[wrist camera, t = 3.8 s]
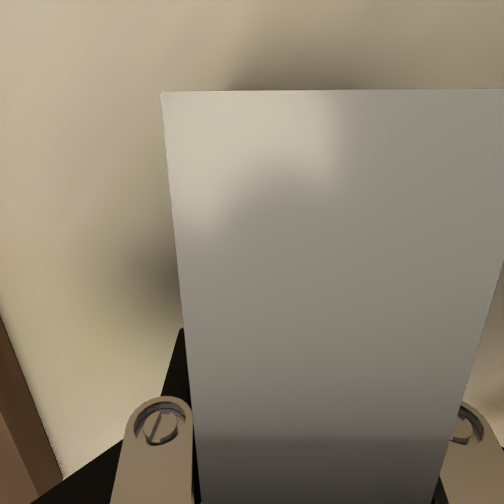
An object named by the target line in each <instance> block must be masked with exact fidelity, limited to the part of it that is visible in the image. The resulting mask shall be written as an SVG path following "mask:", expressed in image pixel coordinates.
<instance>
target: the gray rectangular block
mask: <svg viewBox="0 0 504 504" xmlns="http://www.w3.org/2000/svg"><path fill="white" fill-rule="evenodd" d="M160 99H161V109H162V119H163V129H164V139H165V148H166V158H167V168H168V178H169V188H170V197H171V207H172V217H173V227H174V237H175V246H176V256H177V266H178V276H179V286H180V295H181V305H182V315H183V325H184V335H185V344H186V354H187V364H188V374H189V384H190V393H191V403H192V413H193V423H194V433H195V442H196V452H197V462H198V472H199V482H200V491H201V501H202V504H431V501H432V497H433V494H434V491H435V488H436V484H437V481H438V478H439V474H440V471H441V468H442V464H443V461H444V458H445V454H446V451H447V448H448V444H449V441H450V438H451V435H452V431H453V428H454V425H455V421H456V418H457V415H458V411H459V408H460V405H461V401H462V398H463V395H464V391H465V388H466V385H467V382H468V378H469V375H470V372H471V368H472V365H473V362H474V358H475V355H476V352H477V348H478V345H479V342H480V338H481V335H482V332H483V329H484V325H485V322H486V319H487V315H488V312H489V309H490V305H491V302H492V299H493V295H494V292H495V289H496V285H497V282H498V279H499V276H500V272H501V269H502V266H503V262H504V88H481V89H374V90H267V91H160Z"/></svg>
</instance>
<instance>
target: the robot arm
mask: <svg viewBox="0 0 504 504" xmlns="http://www.w3.org/2000/svg"><path fill="white" fill-rule="evenodd" d="M30 504H202V501H201V491H200V482H199V472H198V462H197V452H196V442H195V433H194V423H193V413H192V403H191V393H190V384H189V374H188V364H187V354H186V344H185V335H184V328H181V329H180V330H179V333H178V336H177V340H176V343H175V347H174V350H173V354H172V358H171V361H170V365H169V368H168V372H167V375H166V379H165V382H164V386H163V389H162V393H161V396H160V397H157V398H153V399H151V400H149V401H147V402H144V403H143V404H142V405H140V406H139V407H138V408H137V409H136V410H135V411H134V412H133V413H132V415H131V416H130V418H129V420H128V423H127V425H126V429H125V434H124V439H122V440H121V441H120V442H118V443H117V444H115V445H114V446H112V447H111V448H109V449H108V450H107V451H105V452H104V453H102V454H101V455H99V456H98V457H96V458H95V459H94V460H92V461H91V462H89V463H88V464H86V465H85V466H83V467H82V468H81V469H79V470H78V471H76V472H75V473H73V474H72V475H70V476H69V477H68V478H66V479H65V480H63V481H62V482H60V483H59V484H57V485H56V486H55V487H53V488H52V489H50V490H49V491H47V492H46V493H44V494H43V495H42V496H40V497H39V498H37V499H36V500H34V501H33V502H31V503H30ZM431 504H504V447H502V446H500V444H499V442H498V440H497V438H496V436H495V434H494V432H493V430H492V428H491V427H490V425H489V423H488V422H487V420H486V419H485V418H484V416H483V415H482V414H480V413H479V412H478V411H477V410H476V409H475V408H474V407H472V406H470V405H469V404H467V403H466V402H464V401H461V405H460V408H459V411H458V415H457V418H456V421H455V425H454V428H453V431H452V435H451V438H450V441H449V444H448V448H447V451H446V454H445V458H444V461H443V464H442V468H441V471H440V474H439V478H438V481H437V484H436V488H435V491H434V494H433V497H432V501H431Z"/></svg>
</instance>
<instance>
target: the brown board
mask: <svg viewBox="0 0 504 504" xmlns="http://www.w3.org/2000/svg"><path fill="white" fill-rule="evenodd" d="M62 480H63V477H62V475H61V472H60V470H59V467H58V465H57V462H56V459H55V457H54V454H53V452H52V449H51V447H50V444H49V441H48V439H47V436H46V434H45V431H44V429H43V426H42V423H41V421H40V418H39V416H38V413H37V411H36V408H35V405H34V403H33V400H32V398H31V395H30V393H29V390H28V387H27V385H26V382H25V380H24V377H23V375H22V372H21V369H20V367H19V364H18V362H17V359H16V357H15V354H14V352H13V349H12V346H11V344H10V341H9V339H8V336H7V334H6V331H5V328H4V326H3V323H2V321H1V318H0V504H30V503H31V502H33V501H34V500H36V499H37V498H39V497H40V496H42V495H43V494H44V493H46V492H47V491H49V490H50V489H52V488H53V487H55V486H56V485H57V484H59V483H60V482H62Z"/></svg>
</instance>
